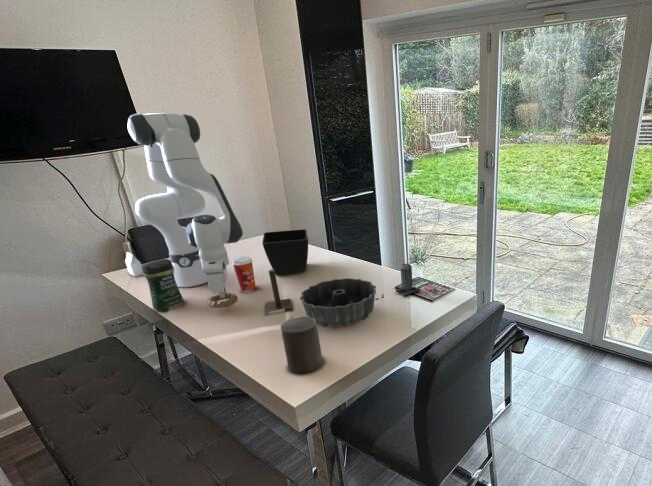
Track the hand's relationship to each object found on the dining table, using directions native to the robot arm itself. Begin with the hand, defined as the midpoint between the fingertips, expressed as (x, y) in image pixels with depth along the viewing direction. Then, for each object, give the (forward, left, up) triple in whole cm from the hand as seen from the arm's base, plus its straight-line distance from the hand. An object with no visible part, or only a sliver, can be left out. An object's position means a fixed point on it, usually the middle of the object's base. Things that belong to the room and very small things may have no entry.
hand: (223, 295), depth 153 cm
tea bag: (-58, -41, -6) cm, 71 cm away
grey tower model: (+15, +68, -6) cm, 69 cm away
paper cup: (-15, +8, -6) cm, 18 cm away
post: (+8, +19, -5) cm, 21 cm away
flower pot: (-33, +26, -6) cm, 42 cm away
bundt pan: (+25, +40, -6) cm, 47 cm away
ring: (+4, 0, -1) cm, 4 cm away
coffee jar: (-11, -20, -6) cm, 24 cm away
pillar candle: (+52, +25, -6) cm, 58 cm away
